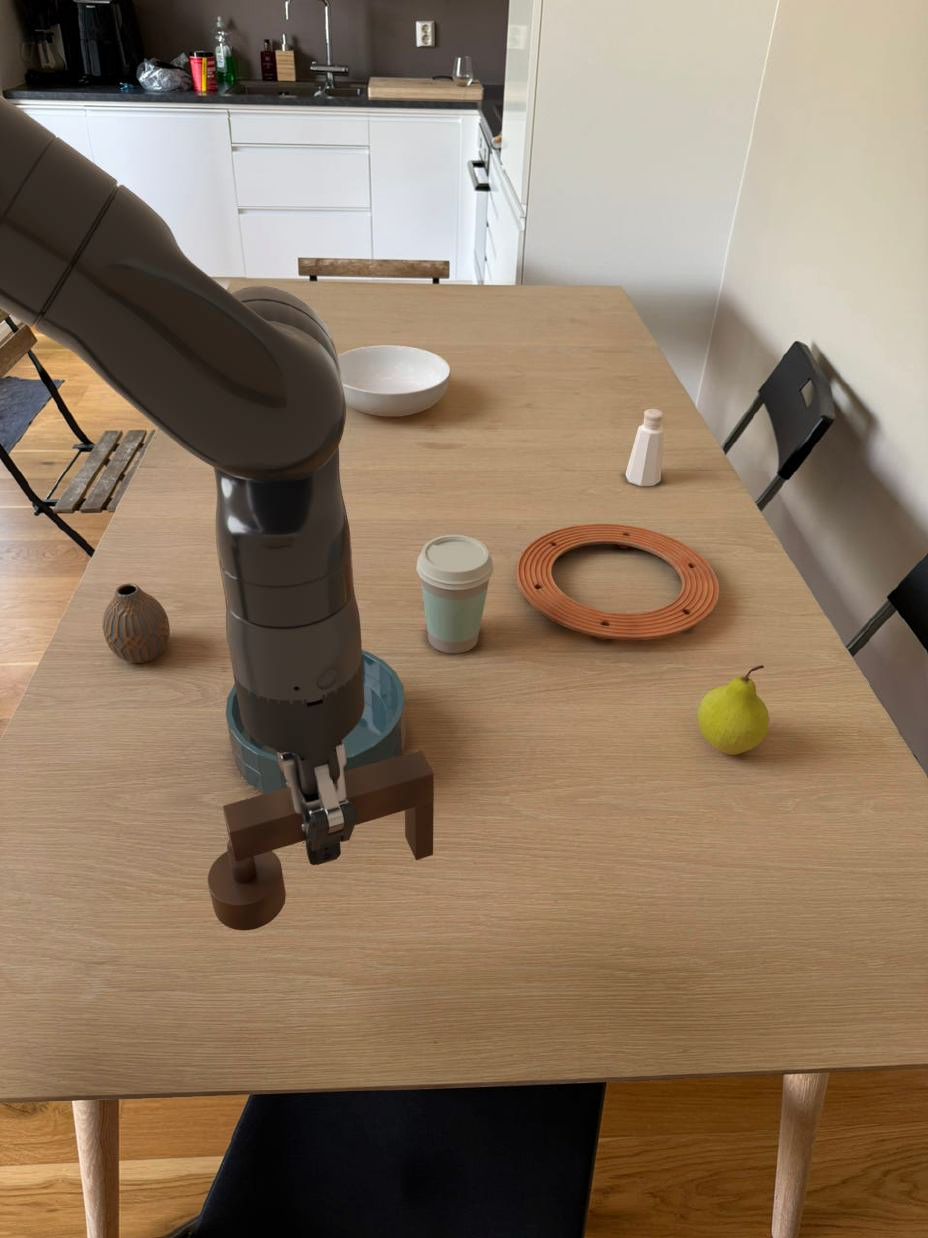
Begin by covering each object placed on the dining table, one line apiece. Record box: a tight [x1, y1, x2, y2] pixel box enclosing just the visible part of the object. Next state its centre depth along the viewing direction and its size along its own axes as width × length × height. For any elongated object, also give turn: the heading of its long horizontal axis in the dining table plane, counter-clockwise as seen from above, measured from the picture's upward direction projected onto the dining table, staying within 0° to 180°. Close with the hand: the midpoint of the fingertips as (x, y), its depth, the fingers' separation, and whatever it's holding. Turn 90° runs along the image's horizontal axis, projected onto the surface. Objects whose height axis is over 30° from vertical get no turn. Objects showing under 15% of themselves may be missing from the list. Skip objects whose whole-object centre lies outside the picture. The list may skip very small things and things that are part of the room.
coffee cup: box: [415, 534, 495, 654], centre depth 101 cm, size 8×8×12 cm
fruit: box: [697, 665, 770, 756], centre depth 88 cm, size 7×7×12 cm
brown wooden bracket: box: [207, 749, 435, 932], centre depth 62 cm, size 16×5×9 cm, turn 113°
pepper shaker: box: [625, 408, 665, 488], centre depth 133 cm, size 5×5×11 cm
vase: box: [102, 583, 171, 664], centre depth 98 cm, size 7×7×9 cm
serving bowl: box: [337, 344, 452, 418], centre depth 153 cm, size 21×21×7 cm
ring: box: [515, 523, 720, 641], centre depth 113 cm, size 25×25×2 cm
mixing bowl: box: [225, 649, 407, 795], centre depth 89 cm, size 17×17×6 cm
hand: (318, 841), depth 62 cm, fingers closed on brown wooden bracket, 2 cm apart
